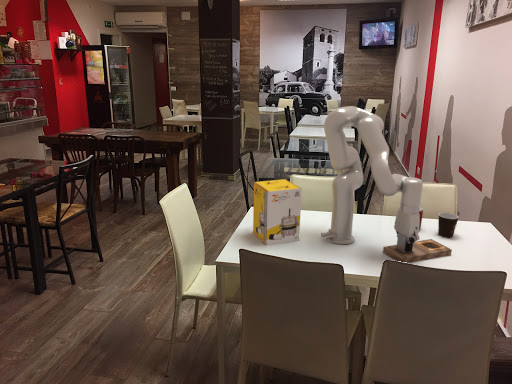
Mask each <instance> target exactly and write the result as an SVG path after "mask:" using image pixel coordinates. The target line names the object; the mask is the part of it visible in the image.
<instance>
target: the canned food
mask: <svg viewBox="0 0 512 384" xmlns="http://www.w3.org/2000/svg"><path fill="white" fill-rule="evenodd" d="M423 213H424V208H423V207H421V206H420V209H419V215H420V225H419V231H421V228H422V223H423V222H422V221H423Z"/></svg>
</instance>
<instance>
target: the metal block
mask: <svg viewBox="0 0 512 384" xmlns="http://www.w3.org/2000/svg"><path fill="white" fill-rule="evenodd" d="M411 239H412V237H410V240H411ZM396 241H397V242H396V245H397V247H396V250H397V251H399V252H400V253H402V254H408V253H412V251H410V252H405V248H406V243H407V237H406V236H404V235H402V234H401V233H398V237H397V239H396ZM412 249H413V248H412Z"/></svg>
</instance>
